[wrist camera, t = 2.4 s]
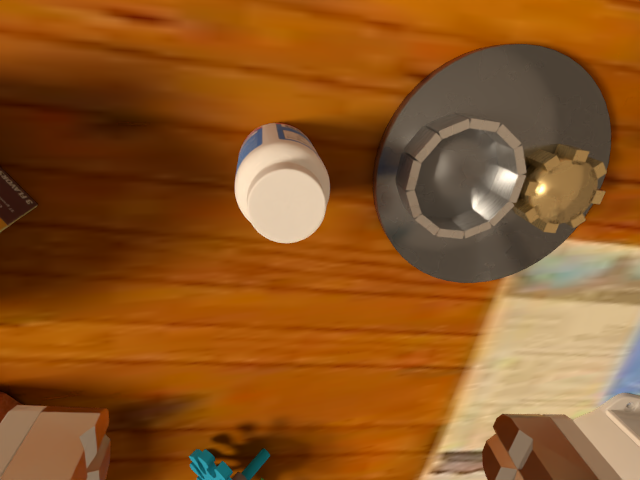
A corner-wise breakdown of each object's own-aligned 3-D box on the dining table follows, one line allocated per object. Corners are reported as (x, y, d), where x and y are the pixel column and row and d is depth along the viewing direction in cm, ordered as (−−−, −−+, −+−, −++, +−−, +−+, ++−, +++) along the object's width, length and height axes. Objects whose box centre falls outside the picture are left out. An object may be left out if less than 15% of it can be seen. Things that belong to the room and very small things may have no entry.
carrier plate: (640, 67, 30) (687, 70, 26) (546, 282, 37) (574, 306, 34) (404, 21, 27) (424, 18, 23) (352, 267, 34) (362, 290, 30)
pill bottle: (252, 204, 31) (247, 267, 22) (228, 132, 28) (213, 171, 19) (323, 185, 31) (348, 241, 22) (306, 112, 28) (325, 141, 19)
